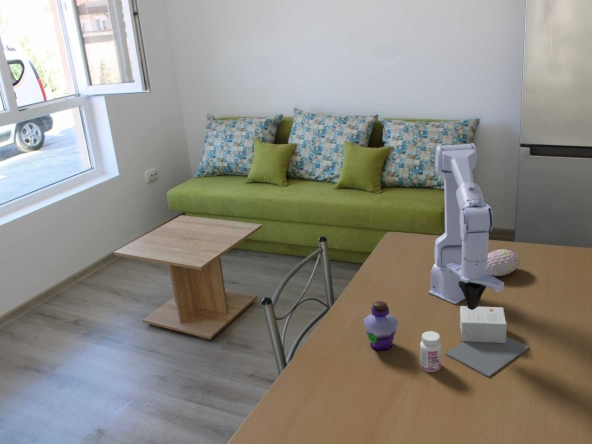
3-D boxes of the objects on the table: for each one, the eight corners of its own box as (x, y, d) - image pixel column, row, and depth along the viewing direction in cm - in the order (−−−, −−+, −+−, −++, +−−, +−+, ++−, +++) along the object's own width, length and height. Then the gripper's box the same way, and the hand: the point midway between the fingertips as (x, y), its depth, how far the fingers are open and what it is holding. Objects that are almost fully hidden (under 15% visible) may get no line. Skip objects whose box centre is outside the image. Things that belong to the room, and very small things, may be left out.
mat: (445, 354, 132) (445, 353, 132) (485, 328, 141) (485, 327, 141) (488, 377, 123) (488, 376, 123) (528, 348, 132) (529, 346, 132)
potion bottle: (360, 352, 136) (357, 310, 132) (368, 333, 143) (366, 292, 139) (394, 357, 133) (393, 314, 128) (401, 337, 140) (401, 296, 136)
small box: (460, 341, 136) (506, 344, 133) (461, 322, 134) (507, 324, 131) (459, 324, 143) (502, 326, 140) (460, 305, 141) (503, 307, 138)
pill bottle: (429, 375, 126) (429, 344, 123) (415, 364, 130) (415, 334, 127) (445, 368, 128) (446, 337, 124) (431, 357, 132) (431, 327, 128)
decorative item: (472, 262, 165) (494, 236, 163) (483, 269, 174) (504, 245, 172) (495, 281, 159) (518, 255, 158) (505, 287, 168) (528, 262, 166)
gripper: (438, 252, 130) (437, 302, 135) (491, 272, 119) (488, 326, 124) (456, 243, 134) (455, 292, 139) (510, 261, 123) (507, 314, 128)
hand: (472, 307), depth 132 cm, fingers closed
